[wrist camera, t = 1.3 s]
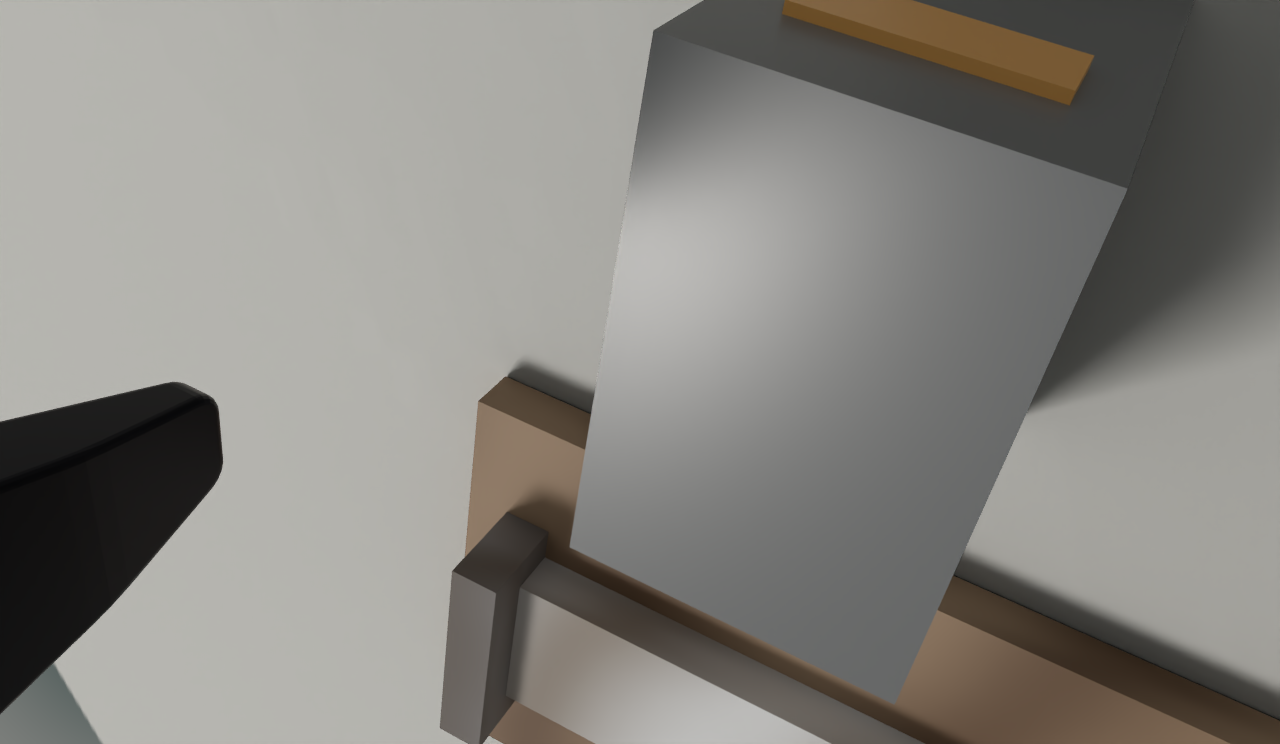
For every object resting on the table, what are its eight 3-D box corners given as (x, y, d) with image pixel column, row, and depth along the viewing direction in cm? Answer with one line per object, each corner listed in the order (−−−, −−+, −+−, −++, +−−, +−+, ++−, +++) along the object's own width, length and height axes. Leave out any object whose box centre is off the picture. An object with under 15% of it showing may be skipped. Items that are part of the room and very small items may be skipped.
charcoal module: (1199, -13, 15) (1134, 172, 10) (1008, 421, 19) (894, 704, 14) (865, -107, 16) (655, 14, 11) (755, 320, 20) (569, 547, 15)
